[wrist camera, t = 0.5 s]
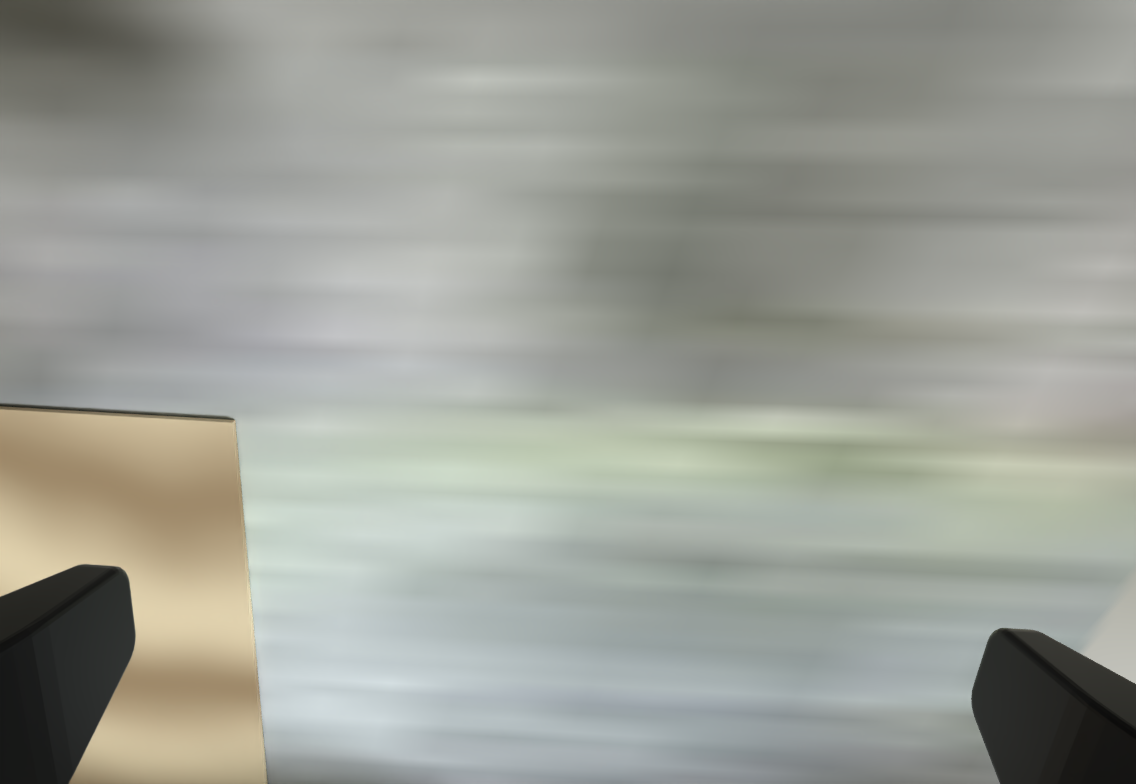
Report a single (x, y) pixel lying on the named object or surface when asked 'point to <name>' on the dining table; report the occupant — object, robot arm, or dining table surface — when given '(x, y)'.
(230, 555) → the board
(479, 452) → the dining table surface
